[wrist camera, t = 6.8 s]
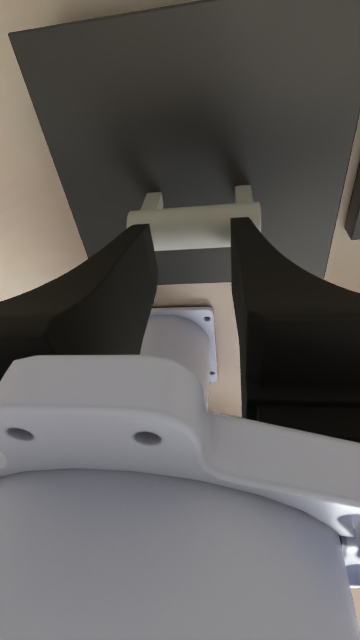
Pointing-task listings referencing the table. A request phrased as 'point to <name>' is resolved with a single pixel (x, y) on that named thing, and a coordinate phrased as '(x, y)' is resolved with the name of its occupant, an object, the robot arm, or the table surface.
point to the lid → (202, 125)
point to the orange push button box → (354, 212)
